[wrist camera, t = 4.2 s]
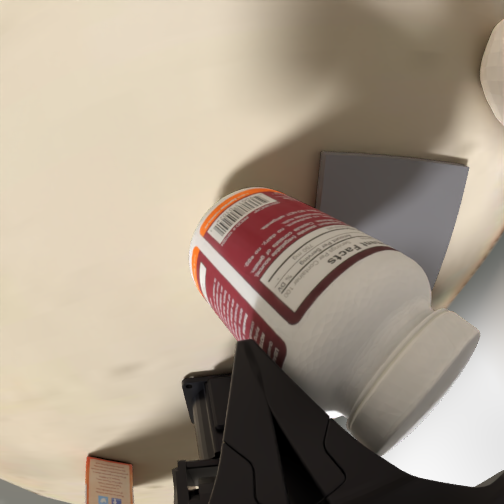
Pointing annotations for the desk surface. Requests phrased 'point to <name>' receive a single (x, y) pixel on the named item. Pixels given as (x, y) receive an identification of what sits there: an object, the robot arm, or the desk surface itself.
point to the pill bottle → (331, 311)
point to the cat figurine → (494, 71)
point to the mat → (395, 201)
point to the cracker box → (108, 482)
